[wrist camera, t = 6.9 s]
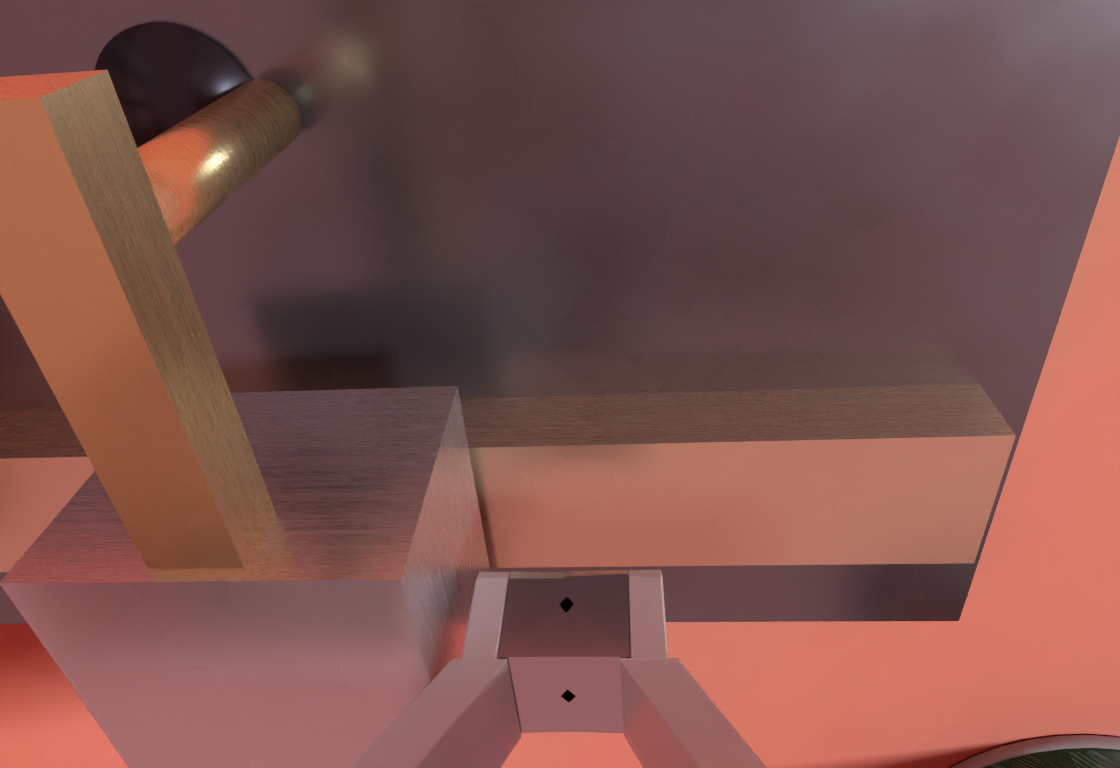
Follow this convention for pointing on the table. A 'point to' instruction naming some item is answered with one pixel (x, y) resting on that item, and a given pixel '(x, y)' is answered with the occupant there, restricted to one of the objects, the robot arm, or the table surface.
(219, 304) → the bolt plate
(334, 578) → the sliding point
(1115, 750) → the canned tomato
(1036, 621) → the table surface
